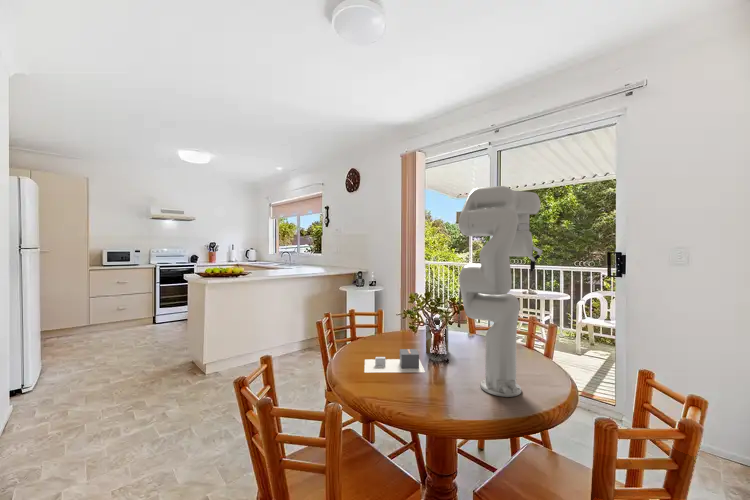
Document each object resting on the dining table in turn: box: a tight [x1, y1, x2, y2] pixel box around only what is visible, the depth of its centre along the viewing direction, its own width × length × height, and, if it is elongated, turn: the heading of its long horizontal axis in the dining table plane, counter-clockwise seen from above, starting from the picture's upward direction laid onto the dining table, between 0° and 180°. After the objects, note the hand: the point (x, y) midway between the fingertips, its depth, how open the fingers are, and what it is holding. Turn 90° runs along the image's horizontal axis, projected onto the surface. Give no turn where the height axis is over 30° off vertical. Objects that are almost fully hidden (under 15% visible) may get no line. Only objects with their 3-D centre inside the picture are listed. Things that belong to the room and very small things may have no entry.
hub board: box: [363, 356, 426, 374], centre depth 128 cm, size 14×22×4 cm, turn 91°
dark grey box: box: [399, 348, 420, 369], centre depth 128 cm, size 7×7×5 cm
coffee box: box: [425, 316, 449, 356], centre depth 144 cm, size 9×6×16 cm
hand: (519, 270), depth 137 cm, fingers open, 9 cm apart
